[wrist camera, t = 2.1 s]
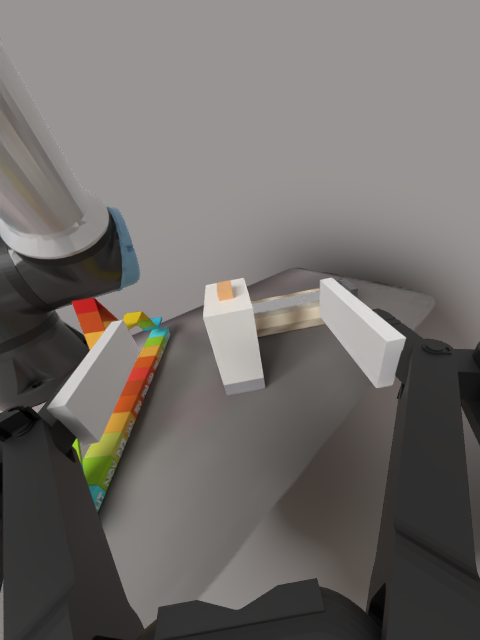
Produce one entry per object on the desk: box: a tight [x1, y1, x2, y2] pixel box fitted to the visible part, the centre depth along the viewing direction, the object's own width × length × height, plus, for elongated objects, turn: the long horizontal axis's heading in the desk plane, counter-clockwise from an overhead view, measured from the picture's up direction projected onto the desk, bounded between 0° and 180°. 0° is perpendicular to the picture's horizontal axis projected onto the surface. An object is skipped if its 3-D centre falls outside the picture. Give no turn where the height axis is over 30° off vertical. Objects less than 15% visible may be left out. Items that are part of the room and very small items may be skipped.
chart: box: [72, 298, 171, 513], centre depth 26 cm, size 30×3×15 cm, turn 1°
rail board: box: [251, 288, 325, 337], centre depth 41 cm, size 22×10×2 cm, turn 96°
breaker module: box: [203, 278, 265, 396], centre depth 28 cm, size 5×8×13 cm, turn 6°
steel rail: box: [252, 279, 358, 319], centre depth 40 cm, size 22×4×2 cm, turn 96°
